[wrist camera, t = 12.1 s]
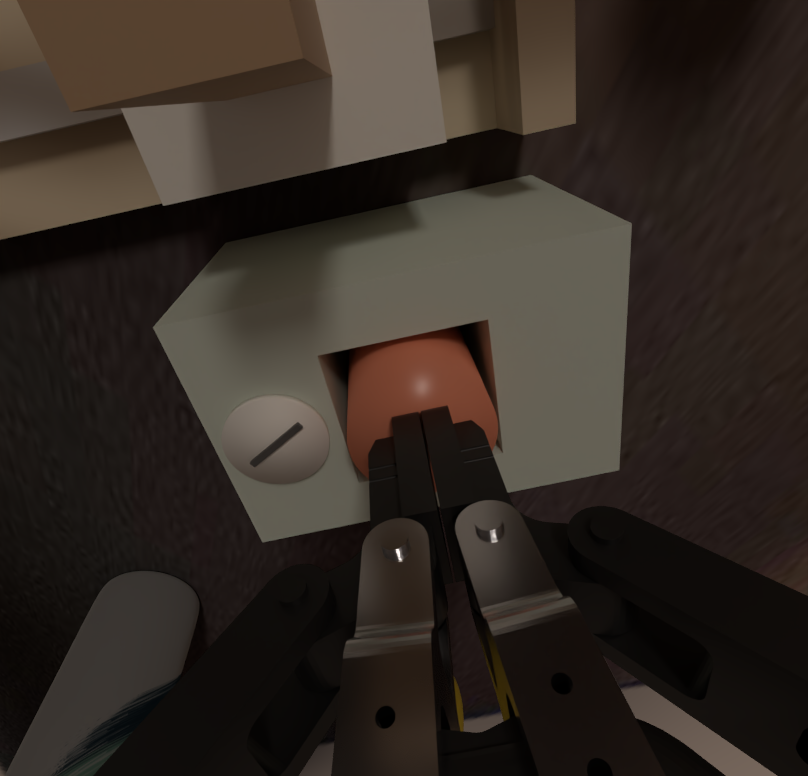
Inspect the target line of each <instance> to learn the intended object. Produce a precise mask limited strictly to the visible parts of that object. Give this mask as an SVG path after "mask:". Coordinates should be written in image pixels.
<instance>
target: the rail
mask: <svg viewBox="0 0 808 776" xmlns="http://www.w3.org/2000/svg"><path fill="white" fill-rule="evenodd" d="M428 5H429V13H430V20H431V28H432V36H433V43H434V51H435V58H436V66H437V73H438V81H439V88H440V96H441V103H442V111H443V118H444V126H445V134H446V139H451V138H455V137H460V136H464V135H468V134H473V133H477V132H482V131H486V130H491V129H495V128H499V129H503V130H506V131H510V132H514V133H518V134H521V135H525V134H530V133H534V132H539V131H543V130H548V129H552V128H557V127H561V126H565V125H570V124H574V123H576V81H575V0H428ZM161 203H162V202H161V200H160V197H159V195H158V193H157V190H156V188H155V186H154V184H153V181H152V179H151V177H150V174H149V172H148V170H147V167H146V165H145V163H144V161H143V158H142V156H141V154H140V151H139V149H138V147H137V145H136V142H135V140H134V138H133V135H132V133H131V131H130V128H129V126H128V124H127V122H126V119H125V117H124V115H123V112H122V110H121V108H119V109H105V110H92V111H79V112H71V111H70V109H69V107H68V105H67V103H66V101H65V99H64V97H63V95H62V93H61V91H60V89H59V87H58V84H57V82H56V80H55V78H54V76H53V74H52V72H51V70H50V68H49V66H48V64H47V62H46V60H45V58H44V56H43V53H42V51H41V49H40V47H39V45H38V43H37V41H36V39H35V37H34V35H33V33H32V31H31V29H30V27H29V25H28V22H27V20H26V18H25V16H24V14H23V12H22V10H21V8H20V6H19V4H18V2H17V0H0V240H1V239H6V238H10V237H14V236H19V235H23V234H28V233H32V232H37V231H41V230H46V229H50V228H55V227H59V226H63V225H68V224H72V223H77V222H81V221H86V220H90V219H95V218H99V217H104V216H108V215H112V214H117V213H121V212H126V211H130V210H135V209H139V208H144V207H148V206H152V205H157V204H161Z"/></svg>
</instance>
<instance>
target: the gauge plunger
mask: <svg viewBox="0 0 808 776" xmlns="http://www.w3.org/2000/svg"><path fill="white" fill-rule="evenodd" d="M446 405H448V408H449V411H450V415H451V418H452V422H453V424H454V423H459V422H464V421H468V420H472V421H474V422H475V423H476V424H477V425H478V426H480V427H481V428H482V429H483V430H484V431H485V434H486V437H487V439H488V442H489V445H490V447H491V450H492V451H493V449H494V446H495V443H496V440H497V435H498V420H497V415H496V412H495V409H494V407H493V404H492V402H491V400H490V397H489V395H488V393H487V390H486V388H485V386H484V384H483V381H482V379H481V377H480V374H479V372H478V370H477V367H476V365H475V363H474V361H473V358H472V356H471V354H470V351H469V349H468V347H467V345H466V342H465V340H464V338H463V335H462V333H461V331H460V328H459V326H455V327H450V328H445V329H441V330H436V331H431V332H426V333H422V334H417V335H412V336H408V337H403V338H398V339H394V340H389V341H384V342H380V343H375V344H370V345H366V346H361V347H356V348H351V349H349V374H348V412H347V445H348V449H349V453H350V456H351V458H352V460H353V462H354V463H355V465H356V467H357V468H358V469H359V470H360V471H361V473H362V474H363V475H365V476H366V477H367V478H368V479H369V468H368V453H369V451H370V450H371V448H372V446H373V444H374V442H375V440H377V439H382V438H387V437H392V436H393V428H392V417H394V416H399V415H404V414H408V413H413V412H419V417H420V421H421V426H422V430H423V435H424V440H425V444H426V449H427V453H428V458H429V463H430V467H431V472H432V477H433V482H434V487H435V492H437V489H436V484H435V479H434V474H433V469H432V464H431V459H430V454H429V450H428V445H427V440H426V435H425V430H424V425H423V420H422V415H421V411H422V410H427V409H432V408H437V407H441V406H446Z"/></svg>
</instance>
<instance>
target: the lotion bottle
mask: <svg viewBox="0 0 808 776" xmlns="http://www.w3.org/2000/svg"><path fill="white" fill-rule="evenodd" d="M198 614H199V599H198V597H197V595H196V593H195V591H194V590H193V589H192V588H191V587H190V586H189V585H188V584H187V583H185V582H184V581H182V580H180V579H178V578H176V577H174V576H171V575H168V574H165V573H160V572H154V571H134V572H129V573H125V574H122V575H119V576H117V577H115V578H113V579H112V580H110V581H109V582H108V583H107V584H106V585H105V586H104V587H103V588H102V590H101V591H100V593H99V595H98V596H97V598H96V600H95V602H94V603H93V605H92V607H91V609H90V611H89V613H88V615H87V617H86V618H85V620H84V622H83V624H82V626H81V628H80V630H79V632H78V634H77V636H76V638H75V640H74V642H73V644H72V646H71V648H70V650H69V651H68V653H67V655H66V657H65V659H64V661H63V663H62V665H61V667H60V669H59V671H58V673H57V675H56V677H55V679H54V681H53V683H52V685H51V687H50V689H49V691H48V692H47V694H46V696H45V698H44V700H43V702H42V704H41V706H40V708H39V710H38V712H37V714H36V716H35V718H34V720H33V722H32V724H31V726H30V728H29V730H28V731H27V733H26V735H25V737H24V739H23V741H22V743H21V745H20V747H19V749H18V751H17V753H16V755H15V757H14V759H13V761H12V763H11V765H10V767H9V769H8V771H7V772H6V774H5V776H93V775H94V774H95V773H96V772H97V771H98V769H99V768H100V767H101V766H102V765H103V764H104V763H105V762H106V761H107V760H108V758H109V757H110V756H111V755H112V754H113V753H114V752H115V751H116V750H117V749H118V747H119V746H120V745H121V744H122V743H123V742H124V741H125V740H126V739H127V738H128V736H129V735H130V734H131V733H132V732H133V731H134V730H135V729H136V728H137V727H138V725H139V724H140V723H141V722H142V721H143V720H144V719H145V718H146V717H147V716H148V714H149V713H150V712H151V711H152V710H153V709H154V708H155V707H156V706H157V705H158V703H159V702H160V701H161V700H162V699H163V698H164V697H165V696H166V695H167V694H168V692H169V691H170V690H171V689H172V688H173V687H174V686H175V685H176V684H177V683H178V681H179V680H180V677H181V674H182V670H183V667H184V663H185V660H186V657H187V653H188V650H189V647H190V643H191V640H192V637H193V633H194V630H195V626H196V622H197V618H198Z"/></svg>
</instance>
